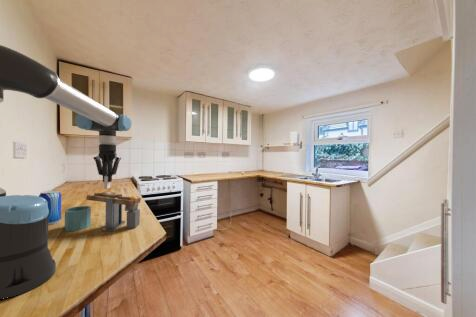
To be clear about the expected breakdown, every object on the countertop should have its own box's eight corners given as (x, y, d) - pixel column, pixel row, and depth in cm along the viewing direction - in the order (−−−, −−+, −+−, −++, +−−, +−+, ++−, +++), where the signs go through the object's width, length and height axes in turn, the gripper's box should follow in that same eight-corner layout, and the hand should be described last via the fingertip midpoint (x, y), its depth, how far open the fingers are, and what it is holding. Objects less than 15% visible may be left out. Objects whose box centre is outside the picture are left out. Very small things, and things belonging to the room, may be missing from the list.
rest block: (135, 228, 90) (135, 212, 90) (126, 228, 90) (126, 212, 90) (139, 224, 95) (139, 209, 95) (131, 224, 95) (131, 209, 95)
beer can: (33, 224, 91) (33, 192, 91) (54, 219, 99) (55, 189, 99) (43, 227, 89) (44, 194, 88) (64, 221, 97) (65, 191, 96)
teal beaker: (81, 230, 86) (81, 211, 85) (59, 231, 85) (59, 211, 84) (95, 223, 95) (95, 205, 95) (75, 223, 94) (75, 206, 94)
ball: (134, 203, 91) (135, 197, 91) (127, 201, 91) (129, 195, 91) (136, 201, 94) (138, 196, 94) (130, 200, 94) (132, 194, 94)
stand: (113, 230, 86) (113, 199, 86) (101, 231, 86) (102, 199, 86) (125, 222, 97) (125, 194, 97) (114, 222, 97) (115, 194, 96)
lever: (145, 204, 104) (147, 194, 104) (133, 212, 89) (135, 200, 89) (104, 198, 102) (106, 188, 102) (84, 206, 87) (86, 194, 87)
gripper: (124, 144, 103) (123, 186, 104) (99, 144, 102) (98, 186, 102) (116, 144, 96) (116, 189, 96) (89, 143, 94) (89, 189, 95)
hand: (107, 187), depth 99 cm, fingers closed
